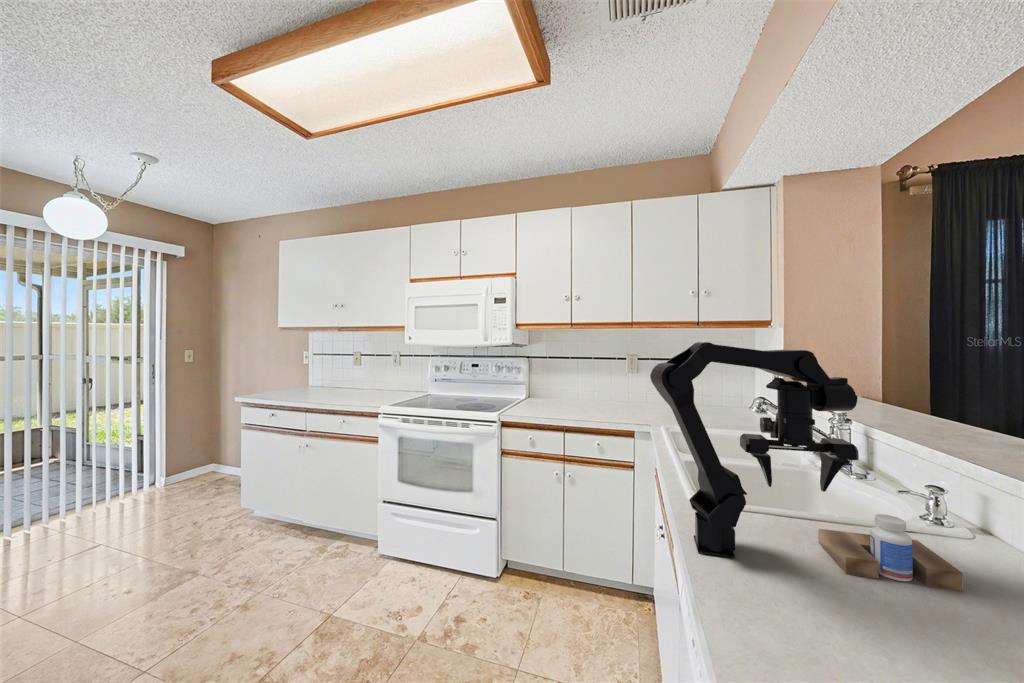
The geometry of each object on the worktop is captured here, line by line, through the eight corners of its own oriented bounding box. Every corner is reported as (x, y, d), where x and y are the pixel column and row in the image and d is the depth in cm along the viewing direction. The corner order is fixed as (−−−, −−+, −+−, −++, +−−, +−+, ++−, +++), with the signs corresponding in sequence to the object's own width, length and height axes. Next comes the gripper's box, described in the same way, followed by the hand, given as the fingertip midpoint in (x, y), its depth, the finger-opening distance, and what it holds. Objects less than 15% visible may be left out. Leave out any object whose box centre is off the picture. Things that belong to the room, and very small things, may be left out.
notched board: (845, 573, 69) (845, 557, 69) (818, 543, 80) (818, 528, 80) (962, 590, 64) (962, 572, 64) (917, 555, 75) (916, 540, 75)
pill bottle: (922, 581, 67) (921, 525, 67) (894, 583, 66) (894, 527, 66) (887, 563, 72) (887, 511, 72) (862, 565, 72) (862, 513, 72)
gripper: (831, 406, 83) (832, 479, 83) (733, 403, 89) (734, 471, 89) (859, 416, 72) (860, 499, 72) (746, 412, 78) (747, 489, 78)
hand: (795, 488), depth 78 cm, fingers open, 9 cm apart
